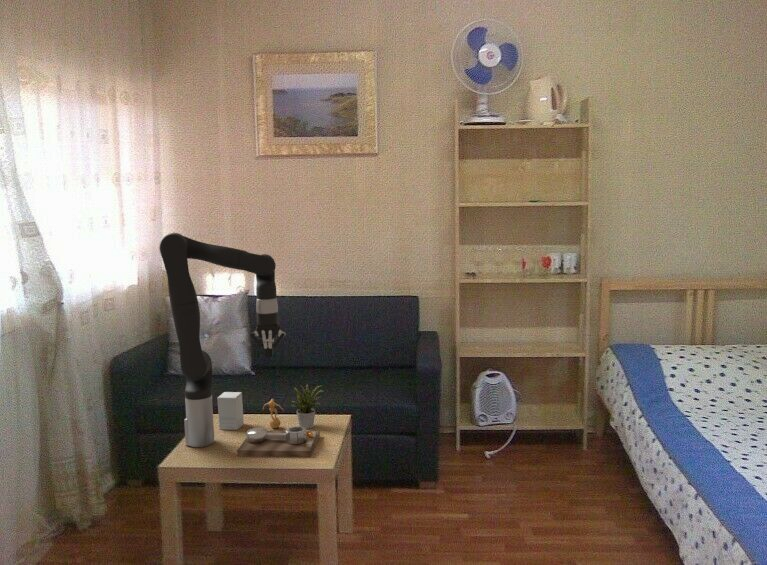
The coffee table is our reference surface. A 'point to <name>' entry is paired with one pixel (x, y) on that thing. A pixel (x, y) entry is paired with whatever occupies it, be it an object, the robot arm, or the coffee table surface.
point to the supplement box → (230, 410)
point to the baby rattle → (278, 435)
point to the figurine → (274, 421)
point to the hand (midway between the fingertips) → (269, 358)
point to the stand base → (279, 447)
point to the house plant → (306, 407)
